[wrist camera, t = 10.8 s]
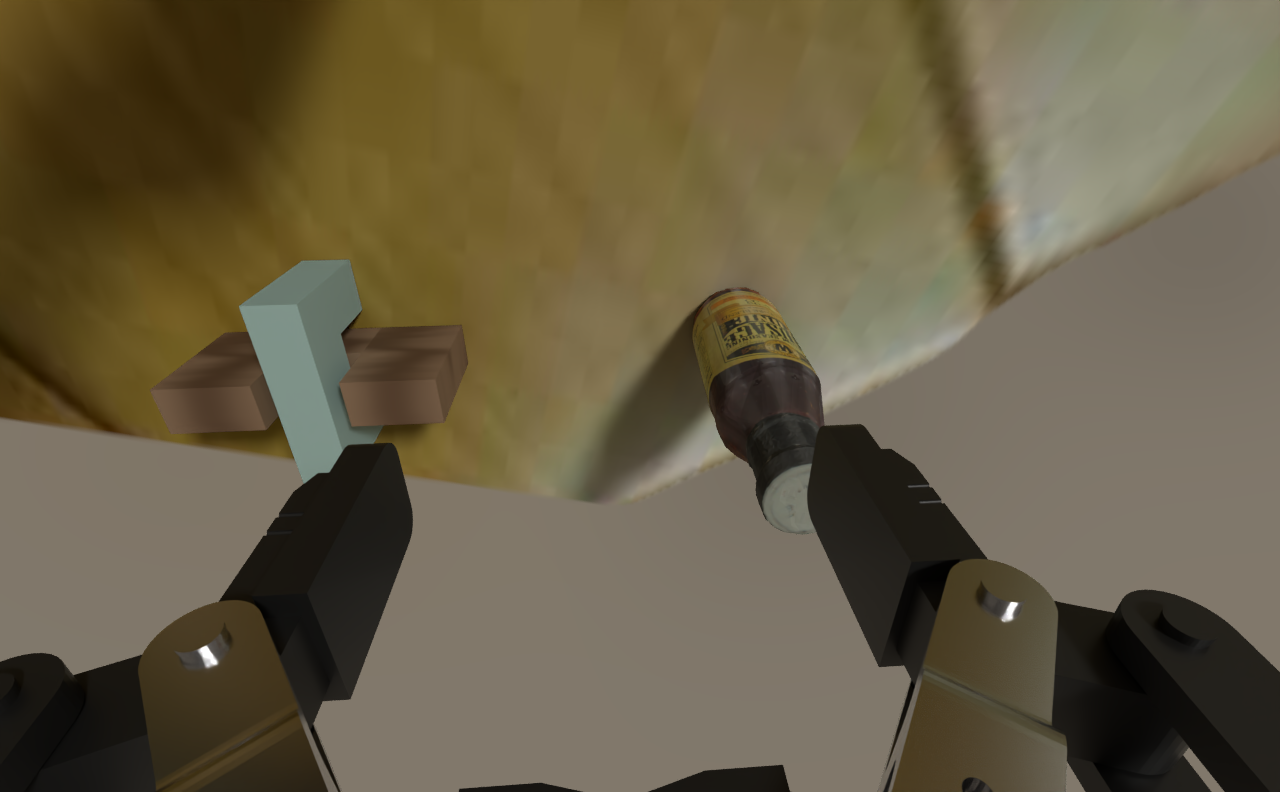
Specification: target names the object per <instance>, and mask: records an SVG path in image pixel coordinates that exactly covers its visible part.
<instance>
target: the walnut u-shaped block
mask: <svg viewBox="0 0 1280 792" xmlns="http://www.w3.org/2000/svg"><path fill="white" fill-rule="evenodd" d="M341 336H342V340H343V344H344V347H345V351H346V354H347V358H348V361H349V365H350V369H349V371H348V372H347V373H346V374H345V376H344V377H343V378H342V380H341V381H340V382H339V385H340V388H341V392H342V395H343V399H344V402H345V405H346V409H347V412H348V415H349V419H350V422H351V426H352V427H353V426H377V425H402V424H426V423H444V422H445V420H446V417H447V415H448V412H449V410H450V407H451V405H452V402H453V400H454V397H455V395H456V392H457V390H458V387H459V385H460V382H461V380H462V377H463V375H464V372H465V370H466V367H467V365H468V360H467V354H466V348H465V342H464V336H463V330H462V325H452V326H421V327H390V328H359V329H345V330H344V331H343V332H342V333H341ZM150 392H151V394H152V396H153V398H154V400H155V402H156V404H157V406H158V408H159V410H160V412H161V414H162V416H163V419H164V421H165V423H166V425H167V427H168V429H169V431H170V433H171V434H182V433H207V432H231V431H255V430H267V429H268V428H269V426H270V425H271V424H272V423H273V422H274V421H275V420H276V418H277V417H278V416H279V415H278V412H277V409H276V406H275V404H274V401H273V398H272V395H271V393H270V390H269V387H268V385H267V382H266V379H265V376H264V374H263V371H262V368H261V365H260V363H259V360H258V357H257V354H256V352H255V349H254V346H253V344H252V341H251V338H250V335H249V333H248V332H234V333H224V334H223V335H221V336H220V337H219V338H217V339H216V340H215V341H214V342H212V343H211V344H210V345H208V346H207V347H206V348H204V349H203V350H202V351H200V352H199V353H198V354H196V355H195V356H194V357H193V358H191V359H190V360H189V361H187V362H186V363H185V364H183V365H182V366H181V367H179V368H178V369H177V370H175V371H174V372H173V373H172V374H170V375H169V376H168V377H166V378H165V379H164V380H162V381H161V382H160V383H158V384H157V385H156V386H154V387H153V388H152V389H150Z"/></svg>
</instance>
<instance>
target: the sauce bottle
mask: <svg viewBox="0 0 1280 792" xmlns="http://www.w3.org/2000/svg"><path fill="white" fill-rule="evenodd" d="M692 340H693V344H694V348H695V352H696V356H697V360H698V364H699V368H700V372H701V376H702V380H703V383H704V387H705V391H706V394H707V398H708V402H709V406H710V409H711V412H712V414H713V416H714V418H715V422H716V427H717V430H718V433H719V435H720V437H721V439H722V441H723V443H724V445H725V447H726V448H728V449H729V450H730V451H731V452H732V453H733V454H734V455H736V456H737V457H739V458H740V459H742V460H744V461H746V462H747V463H749V466H750V467H751V468H752V469H753V472H754V475H755V478H756V481H757V482H756V496H757V499H758V502H759V505H760V507H761V509H762V512H763V515H764V517H765V519H766V520H767V521H769V522H770V523H771V525H773V526H774V527H775V528H777V529H779V530H781V531H783V532H788V533H796V534H809V533H814V532H816V530H815V528H814V526H813V524H812V521H811V519H810V515H809V511H808V504H807V489H808V483H809V477H810V471H811V465H812V460H813V454H814V448H815V442H816V437H817V433H818V430H819V428H820V427H821V426H824V416H823V406H822V395H821V384H820V380H819V378H818V376H817V375H816V373H815V371H814V369H813V368H812V366H811V364H810V363H809V361H808V360H807V358H806V356H805V355H804V353H803V351H802V350H801V348H800V346H799V345H798V343H797V342H796V340H795V339H794V337H793V335H792V334H791V332H790V331H789V329H788V327H787V326H786V324H785V322H784V321H783V319H782V317H781V315H780V314H779V312H778V311H777V309H776V308H775V307H774V305H773V304H772V303H771V302H770V301H768V300H767V299H766V298H764V297H763V296H761V295H760V294H759V293H758V292H756V291H754V290H750V289H748V288H732V289H726V290H723V291H720V292H716V293H715V294H713V295H712V296H711V297H709V298H708V299H707V301H706V302H704V304H703V305H702V306H701V308H700V309H699V310H698V311H697V313H696V315H695V318H694V327H693V335H692Z"/></svg>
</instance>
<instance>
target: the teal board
mask: <svg viewBox="0 0 1280 792" xmlns="http://www.w3.org/2000/svg"><path fill="white" fill-rule="evenodd" d="M239 308H240V311H241V313H242V316H243V319H244V322H245V324H246V327H247V330H248V333H249V335H250V338H251V341H252V344H253V346H254V349H255V352H256V354H257V357H258V360H259V363H260V365H261V368H262V371H263V374H264V376H265V379H266V382H267V385H268V387H269V390H270V393H271V395H272V398H273V401H274V404H275V406H276V409H277V412H278V415H279V417H280V420H281V423H282V426H283V428H284V431H285V434H286V437H287V439H288V442H289V445H290V447H291V450H292V453H293V456H294V458H295V461H296V464H297V466H298V469H299V472H300V475H301V478H302V480H303V483H306V482H307V481H308V480H310V479H311V478H312V477H313V476H315V475H316V474H317V473H329V472H330V470H331V469H332V467H333V466H334V464H335V463H336V461H337V459H338V458H339V456H340V455H341V453H342V451H343V450H344V448H345V447H346V446H347V445H351V444H374V442H375V440H376V438H377V437H378V435H379V433H380V431H381V429H382V428H383V426H384V425H377V426H353V427H352V426H351V422H350V419H349V415H348V412H347V409H346V405H345V402H344V399H343V395H342V392H341V388H340V385H339V382H340V381H341V380H342V378H343V377H344V376H345V374H346V373H347V372H348V371H349V369H350V365H349V361H348V358H347V354H346V351H345V347H344V344H343V340H342V336H341V333H342V332H343V331H344V330H345V329H346V327H347V326H348V325H349V324H350V323H351V322H352V321H353V320H354V318H355V317H356V316H357V315H358V314H359V313H360V312H361V311H362V307H361V303H360V299H359V295H358V291H357V287H356V283H355V280H354V276H353V272H352V268H351V264H350V260H315V261H301V262H300V263H298V264H297V265H296V266H294V267H293V268H291V269H290V270H289V271H287V272H286V273H284V274H283V275H282V276H280V277H279V278H278V279H276V280H275V281H273V282H272V283H271V284H269V285H268V286H266V287H265V288H264V289H262V290H261V291H259V292H258V293H257V294H255V295H254V296H252V297H251V298H250V299H248V300H247V301H245V302H244V303H243V304H241V305H240V306H239Z"/></svg>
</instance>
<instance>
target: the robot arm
mask: <svg viewBox="0 0 1280 792" xmlns="http://www.w3.org/2000/svg"><path fill="white" fill-rule="evenodd" d="M807 504H808V511H809V515H810V519H811V521H812V524H813V526H814V528H815V530H816V532H817V534H818V537H819V539H820V541H821V543H822V545H823V547H824V549H825V552H826V554H827V556H828V558H829V560H830V562H831V564H832V566H833V569H834V571H835V573H836V575H837V577H838V580H839V582H840V584H841V586H842V588H843V590H844V593H845V595H846V597H847V599H848V601H849V603H850V606H851V608H852V610H853V612H854V614H855V616H856V618H857V621H858V623H859V625H860V627H861V629H862V631H863V634H864V636H865V638H866V640H867V642H868V644H869V646H870V649H871V651H872V653H873V655H874V657H875V659H876V661H877V664H878V666H879V667H887V666H901V665H902V666H903V665H904V666H905V668H906V669H907V671H908V673H909V675H910V678H911V681H910V683H909V687H908V689H907V692H906V696H905V699H904V703H903V706H902V710H901V713H900V716H899V720H898V723H897V727H896V730H895V734H894V737H893V741H892V744H891V747H890V751H889V754H888V758H887V761H886V765H885V768H884V772H883V775H882V778H881V782H880V785H879V788H878V792H1066V769H1067V762H1068V764H1069V765H1070V767H1071V769H1072V770H1073V772H1074V773H1075V775H1076V777H1077V778H1078V780H1079V782H1080V783H1081V785H1082V787H1083V788H1084V790H1085V791H1086V792H1211V791H1210V789H1209V788H1208V787H1207V786H1206V784H1205V783H1204V782H1203V780H1202V779H1201V778H1200V777H1199V775H1198V774H1197V773H1196V771H1195V770H1194V769H1193V768H1192V766H1191V765H1190V764H1189V762H1188V761H1187V760H1186V759H1185V757H1184V756H1183V754H1184V753H1185V751H1186V750H1187V749H1188V748H1190V749H1191V750H1192V751H1193V753H1194V754H1195V755H1196V756H1197V758H1198V759H1199V760H1200V761H1201V763H1202V764H1203V765H1204V766H1205V768H1206V769H1207V770H1208V771H1209V773H1210V774H1211V775H1212V776H1213V778H1214V779H1215V780H1216V781H1217V783H1218V784H1219V785H1220V786H1221V788H1222V789H1223V790H1224V791H1225V792H1280V672H1279V671H1278V670H1277V669H1276V668H1275V667H1274V666H1273V665H1272V664H1270V662H1269V661H1268V660H1267V659H1266V658H1265V657H1263V656H1262V655H1261V654H1260V653H1259V652H1258V651H1257V650H1256V649H1255V648H1254V647H1253V646H1252V645H1251V644H1250V643H1249V642H1248V641H1247V640H1246V639H1245V638H1244V637H1243V636H1242V635H1241V634H1240V633H1239V632H1238V631H1237V630H1235V629H1234V628H1233V627H1232V626H1231V625H1230V624H1228V623H1227V622H1226V621H1225V620H1223V619H1222V618H1221V617H1219V616H1218V615H1216V614H1215V613H1213V612H1211V611H1210V610H1208V609H1207V608H1204V607H1203V606H1201V605H1199V604H1197V603H1195V602H1193V601H1190V600H1188V599H1186V598H1182V597H1180V596H1177V595H1174V594H1170V593H1167V592H1162V591H1156V590H1137V591H1134V592H1131V593H1129V594H1127V595H1126V596H1125V597H1124V598H1123V599H1122V601H1121V602H1120V604H1119V606H1118V608H1117V609H1116V611H1115V613H1112V612H1107V611H1102V610H1097V609H1092V608H1087V607H1081V606H1076V605H1071V604H1066V603H1061V602H1057V601H1054V600H1053V599H1052V597H1051V596H1050V594H1049V593H1048V592H1047V591H1046V590H1045V588H1044V587H1042V586H1041V585H1040V584H1039V583H1038V582H1037V581H1036V580H1034V579H1033V578H1031V577H1030V576H1029V575H1027V574H1025V573H1024V572H1022V571H1020V570H1018V569H1016V568H1014V567H1012V566H1009V565H1007V564H1004V563H1000V562H997V561H992V560H988V559H987V557H986V556H985V555H984V554H983V552H982V551H981V550H980V548H979V547H978V546H977V545H976V543H975V542H974V541H973V539H972V538H971V537H970V536H969V535H968V533H967V532H966V530H965V529H964V528H963V527H962V525H961V524H960V523H959V521H958V520H957V519H956V518H955V516H954V515H953V514H952V512H951V511H950V510H949V509H948V507H947V506H946V505H945V503H943V504H942V503H941V499H940V497H939V496H938V495H937V493H936V492H935V491H934V489H933V488H930V487H929V483H928V482H927V480H926V479H925V478H924V476H923V475H922V474H921V473H920V471H919V470H918V469H917V467H916V466H915V465H914V464H913V463H911V462H910V461H908V460H907V459H905V458H904V457H902V456H901V455H899V454H898V453H896V452H895V451H893V450H892V449H881V448H880V447H879V446H878V444H877V443H876V442H875V440H874V439H873V437H872V436H871V435H870V433H869V432H868V430H867V429H866V428H865V427H864V426H863V425H861V424H854V425H832V426H831V425H830V426H821V427H820V428H819V430H818V433H817V437H816V442H815V448H814V454H813V460H812V465H811V471H810V477H809V483H808V489H807ZM412 526H413V516H412V508H411V503H410V499H409V495H408V491H407V487H406V483H405V479H404V475H403V472H402V468H401V464H400V460H399V456H398V452H397V450H396V448H395V446H394V445H393V444H392V443H374V444H351V445H347V446H346V447H345V448H344V450H343V451H342V453H341V455H340V456H339V458H338V459H337V461H336V463H335V464H334V466H333V467H332V469H331V470H330V472H329V473H317V474H316V475H315V476H313V477H312V478H311V479H310V480H308V481H307V482H306V483H304V484H303V485H302V486H301V487H299V488H298V489H297V490H295V491H294V492H293V494H292V495H291V496H290V498H289V499H288V501H287V502H286V504H285V505H284V507H283V508H282V510H281V511H280V513H279V518H275V520H274V521H273V523H272V524H271V526H270V527H269V529H268V530H267V536H263V537H262V539H261V541H260V542H259V543H258V545H257V546H256V548H255V549H254V551H253V552H252V554H251V555H250V557H249V558H248V559H247V561H246V563H245V564H244V565H243V567H242V568H241V570H240V571H239V573H238V574H237V576H236V577H235V579H234V580H233V582H232V583H231V585H230V586H229V588H228V589H227V590H226V592H225V593H224V595H223V596H222V598H221V599H220V601H219V602H216V603H212V604H209V605H206V606H203V607H201V608H198V609H195V610H193V611H192V612H189V613H187V614H186V615H184V616H182V617H180V618H179V619H177V620H175V621H174V622H173V623H171V624H170V625H168V626H167V627H166V628H165V629H163V630H162V631H161V632H160V633H159V634H158V635H157V636H156V637H155V638H154V639H153V640H152V641H151V642H150V644H149V645H148V646H147V648H146V649H145V651H144V653H143V654H142V655H140V656H137V657H133V658H130V659H126V660H123V661H120V662H116V663H113V664H109V665H106V666H103V667H99V668H96V669H93V670H89V671H86V672H83V673H79V674H76V675H73V674H72V673H71V672H70V671H69V669H68V668H67V667H66V665H65V664H64V663H63V661H62V660H61V659H59V658H58V657H57V656H54V655H52V654H46V653H33V654H27V655H21V656H17V657H14V658H10V659H7V660H5V661H2V662H0V792H342V790H341V788H340V785H339V783H338V780H337V778H336V776H335V773H334V771H333V768H332V766H331V763H330V761H329V758H328V756H327V754H326V751H325V749H324V746H323V744H322V741H321V739H320V736H319V734H318V732H317V729H316V727H315V725H314V721H315V718H316V716H317V713H318V711H319V709H320V706H321V704H322V701H332V700H348V699H351V696H352V694H353V691H354V688H355V685H356V683H357V680H358V678H359V675H360V672H361V669H362V667H363V664H364V662H365V658H366V656H367V654H368V651H369V648H370V646H371V643H372V640H373V638H374V635H375V632H376V629H377V627H378V624H379V621H380V619H381V616H382V614H383V611H384V608H385V606H386V603H387V600H388V598H389V595H390V592H391V589H392V587H393V584H394V582H395V579H396V576H397V574H398V571H399V568H400V566H401V563H402V560H403V558H404V555H405V552H406V550H407V547H408V544H409V542H410V538H411V534H412ZM459 792H581V791H577V790H572V789H567V788H562V787H558V786H553V785H548V784H544V783H533V784H519V785H506V786H491V787H478V788H466V789H459ZM649 792H790V790H789V787H788V783H787V779H786V775H785V772H784V768H783V765H776V766H761V767H748V768H735V769H721V770H708V771H703V772H701V773H698V774H695V775H692V776H689V777H687V778H684V779H681V780H679V781H676V782H673V783H671V784H668V785H665V786H663V787H660V788H657V789H655V790H652V791H649Z"/></svg>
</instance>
